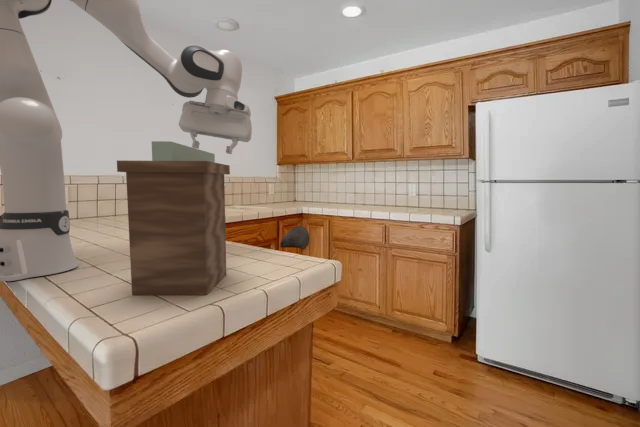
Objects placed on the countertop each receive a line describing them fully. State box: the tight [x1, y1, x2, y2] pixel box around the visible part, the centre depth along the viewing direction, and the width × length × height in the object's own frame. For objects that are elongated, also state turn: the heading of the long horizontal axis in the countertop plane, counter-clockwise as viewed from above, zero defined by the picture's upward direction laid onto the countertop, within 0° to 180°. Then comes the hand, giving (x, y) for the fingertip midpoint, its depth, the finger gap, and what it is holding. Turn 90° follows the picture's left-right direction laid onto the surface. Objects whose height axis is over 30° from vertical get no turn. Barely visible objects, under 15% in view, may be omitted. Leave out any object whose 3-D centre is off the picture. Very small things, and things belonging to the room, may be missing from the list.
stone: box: [279, 225, 310, 251], centre depth 110 cm, size 10×8×10 cm
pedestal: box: [116, 160, 231, 296], centre depth 69 cm, size 16×16×25 cm
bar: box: [151, 140, 216, 163], centre depth 72 cm, size 26×3×3 cm, turn 1°
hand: (212, 150), depth 96 cm, fingers open, 8 cm apart
